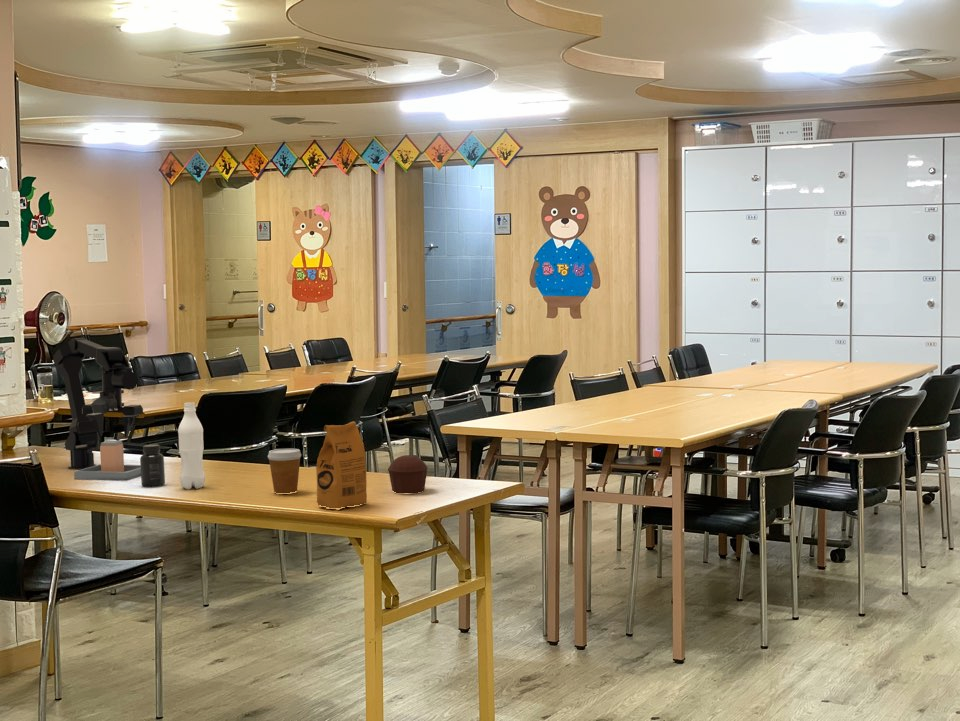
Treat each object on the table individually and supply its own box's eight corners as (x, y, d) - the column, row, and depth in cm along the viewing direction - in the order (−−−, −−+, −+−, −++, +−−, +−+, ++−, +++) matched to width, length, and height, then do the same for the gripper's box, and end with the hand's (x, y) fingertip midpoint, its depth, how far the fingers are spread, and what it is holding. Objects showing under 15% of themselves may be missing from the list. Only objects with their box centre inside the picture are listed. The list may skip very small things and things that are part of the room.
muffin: (390, 488, 338) (389, 453, 337) (429, 487, 337) (428, 452, 337) (386, 495, 326) (385, 459, 325) (427, 495, 326) (426, 459, 325)
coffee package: (311, 507, 311) (308, 424, 309) (347, 500, 320) (345, 419, 318) (335, 512, 304) (333, 427, 303) (372, 504, 313) (369, 422, 312)
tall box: (101, 474, 367) (99, 442, 367) (110, 472, 372) (108, 440, 372) (115, 474, 366) (114, 442, 365) (124, 472, 371) (122, 440, 370)
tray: (74, 479, 365) (74, 471, 365) (99, 471, 378) (99, 464, 378) (126, 480, 360) (126, 472, 360) (150, 472, 374) (150, 465, 374)
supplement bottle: (168, 483, 353) (167, 443, 352) (160, 487, 347) (158, 447, 346) (146, 483, 354) (144, 443, 353) (137, 487, 347) (135, 447, 346)
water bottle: (210, 486, 347) (207, 401, 345) (196, 490, 340) (193, 404, 339) (189, 485, 349) (185, 401, 348) (175, 489, 343) (171, 403, 341)
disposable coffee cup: (262, 492, 334) (261, 450, 333) (292, 488, 340) (291, 447, 339) (278, 497, 327) (277, 454, 326) (309, 493, 332) (307, 450, 332)
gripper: (70, 389, 368) (72, 439, 369) (123, 391, 363) (125, 441, 364) (91, 385, 379) (93, 434, 380) (143, 387, 374) (144, 436, 375)
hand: (113, 436), depth 375 cm, fingers open, 9 cm apart
